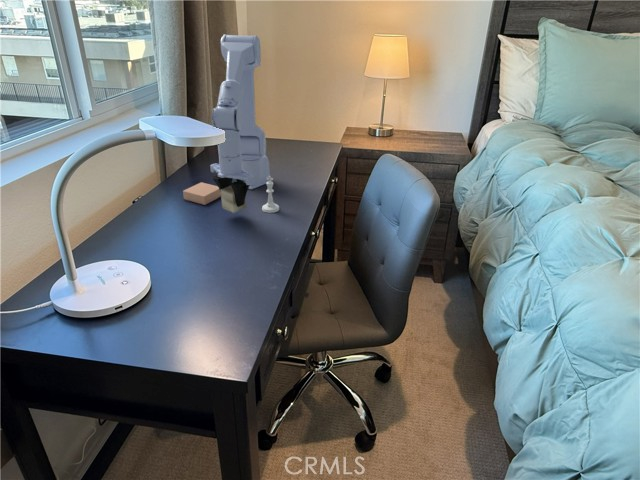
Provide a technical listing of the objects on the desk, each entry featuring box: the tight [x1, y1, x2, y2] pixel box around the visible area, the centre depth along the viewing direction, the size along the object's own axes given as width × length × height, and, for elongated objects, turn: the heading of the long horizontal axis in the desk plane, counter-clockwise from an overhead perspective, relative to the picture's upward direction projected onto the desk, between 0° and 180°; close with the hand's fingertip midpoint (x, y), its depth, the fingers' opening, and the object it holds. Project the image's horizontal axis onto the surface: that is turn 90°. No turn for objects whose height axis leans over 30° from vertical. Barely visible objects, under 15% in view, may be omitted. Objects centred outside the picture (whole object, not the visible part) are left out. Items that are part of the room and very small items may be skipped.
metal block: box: [220, 186, 247, 214], centre depth 120 cm, size 4×4×6 cm
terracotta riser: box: [182, 181, 221, 206], centre depth 133 cm, size 8×8×3 cm
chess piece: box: [261, 175, 280, 214], centre depth 125 cm, size 5×5×10 cm
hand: (233, 202), depth 121 cm, fingers closed on metal block, 4 cm apart
